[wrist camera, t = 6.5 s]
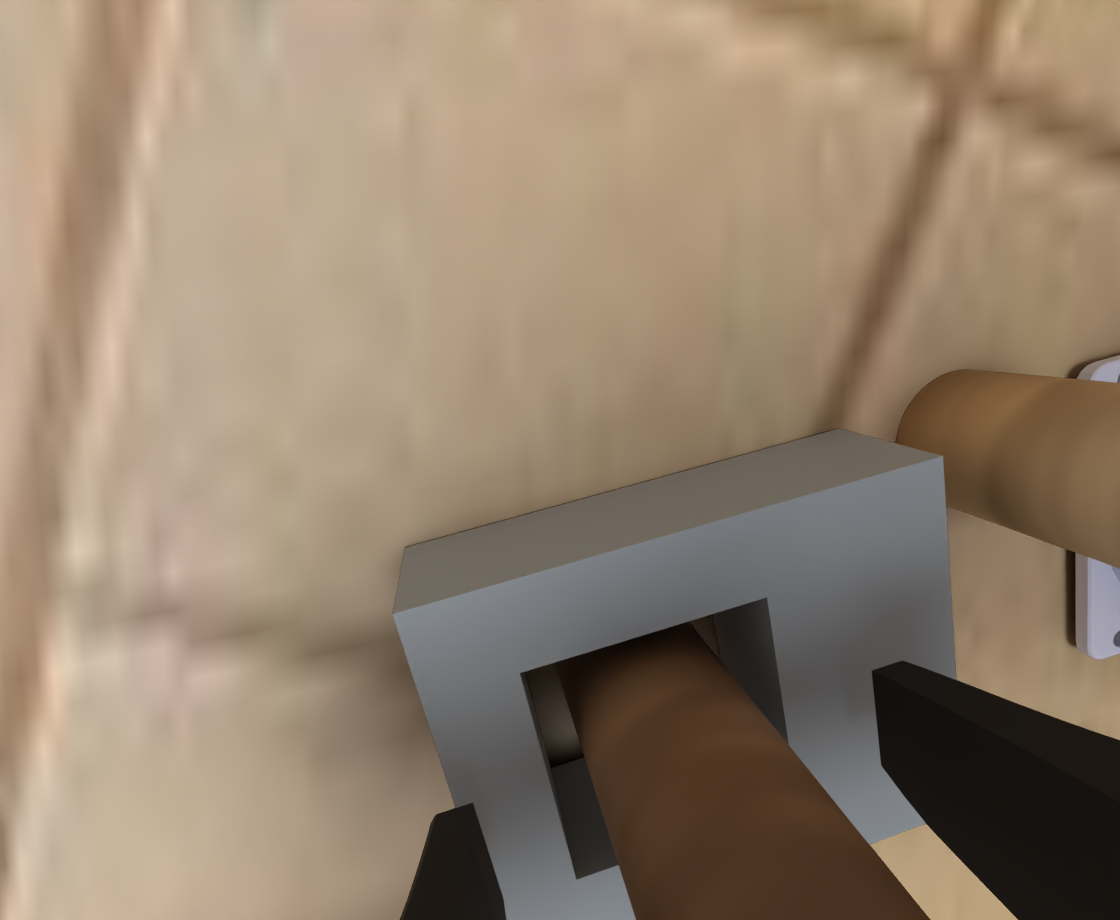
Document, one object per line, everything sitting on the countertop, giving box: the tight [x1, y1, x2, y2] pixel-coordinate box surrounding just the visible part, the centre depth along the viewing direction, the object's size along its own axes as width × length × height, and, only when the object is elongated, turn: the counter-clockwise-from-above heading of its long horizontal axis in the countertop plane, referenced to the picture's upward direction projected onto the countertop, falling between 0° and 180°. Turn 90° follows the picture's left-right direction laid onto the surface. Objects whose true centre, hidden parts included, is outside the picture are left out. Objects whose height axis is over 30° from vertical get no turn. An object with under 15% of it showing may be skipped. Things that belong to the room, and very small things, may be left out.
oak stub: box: [896, 370, 1120, 569], centre depth 12 cm, size 3×3×5 cm
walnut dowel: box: [556, 621, 930, 920], centre depth 10 cm, size 3×3×8 cm
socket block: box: [392, 429, 957, 920], centre depth 13 cm, size 10×8×3 cm
